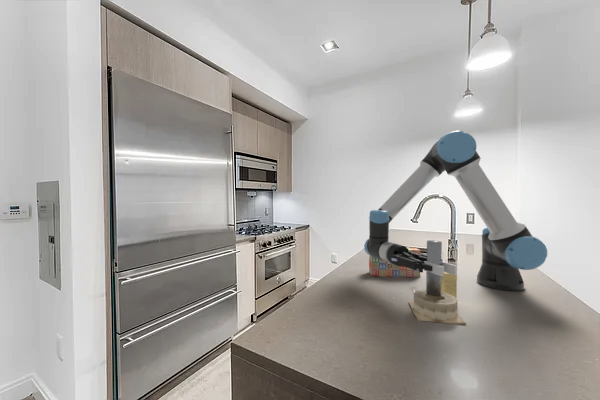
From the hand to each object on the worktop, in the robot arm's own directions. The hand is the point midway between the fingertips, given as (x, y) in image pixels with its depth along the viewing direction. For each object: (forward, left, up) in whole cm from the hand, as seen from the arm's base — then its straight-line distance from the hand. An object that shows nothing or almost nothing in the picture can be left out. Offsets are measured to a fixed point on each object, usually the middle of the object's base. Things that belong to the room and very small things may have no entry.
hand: (449, 270), depth 73 cm
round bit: (+3, -5, -8) cm, 10 cm away
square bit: (-5, -16, -14) cm, 22 cm away
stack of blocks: (+8, -44, -15) cm, 47 cm away
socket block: (+2, -5, -14) cm, 15 cm away
